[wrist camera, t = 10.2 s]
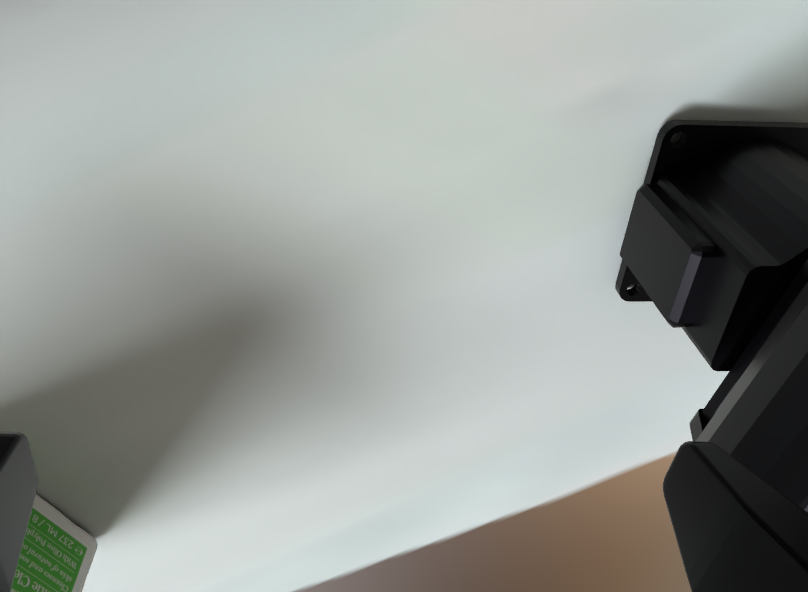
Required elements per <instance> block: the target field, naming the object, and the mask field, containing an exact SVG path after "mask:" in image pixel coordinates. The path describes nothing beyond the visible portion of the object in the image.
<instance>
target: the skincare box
mask: <svg viewBox="0 0 808 592" xmlns="http://www.w3.org/2000/svg"><path fill="white" fill-rule="evenodd" d="M96 549H97V542H96V540H95V538H93V537H92V536H91V535H90V534H88V533H87V532H86V531H84V530H83V529H81V528H80V527H78V526H76V525H75V524H74V523H72V522H71V521H70V520H69V519H68V518H66V517H65V516H64V515H63V514H61V513H60V512H59V511H58V510H57V509H55V508H54V507H53V506H51V505H50V504H49V503H47V502H46V501H45V500H43V499H42V498H40V497H39V496H37V495H36V496H35V500H34V504H33V507H32V511H31V515H30V519H29V523H28V526H27V530H26V534H25V538H24V541H23V545H22V549H21V553H20V557H19V560H18V564H17V568H16V572H15V576H14V579H13V583H12V587H11V591H10V592H82V590H83V587H84V583H85V580H86V577H87V574H88V572H89V569H90V566H91V563H92V561H93V558H94V555H95V552H96Z"/></svg>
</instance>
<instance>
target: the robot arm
mask: <svg viewBox="0 0 808 592" xmlns="http://www.w3.org/2000/svg"><path fill="white" fill-rule="evenodd" d="M679 132H681V133H680V137H679V139H678V140H677V141H676V142H674V143H670V139H671V138H672V136H673V135H674V134H676V133H679ZM620 256H621V257H622V263H621V266H620V270H619V274H618V277H617V281H616V287H615V288H616V290H617V292H618V294H619V295H620V297H621V298H622V299H623V300H625V301H653V302H654V304H655V305H656V307H657V308H658V310H659V311H660V312H661V314H662V315H663V317H664V318H665V319H666V321H667V322H668V323H669V324H670V325H671V326H672V327H673V328H676V327H682V328H683V330H684V331H685V332H686V334H687V335H688V337H689V338H690V339H691V341H692V342H693V343H694V345H695V346H696V347H697V349H698V350H699V352H700V353H701V354H702V356H703V357H704V358H705V360H706V361H707V362H708V364H709V365H710V367H711V368H712V369H713V370H715V371H730V372H729V373H728V375H727V376H726V378H725V379H724V380H723V382H722V383H721V385H720V386H719V388H718V389H717V391H716V392H715V393H714V395H713V396H712V398H711V399H710V401H709V402H708V404H707V405H706V407H705V408H704V409H699V410H698V412H697V413H696V414H695V416H694V417H693V419H692V420H691V422H690V429H691V434H692V439H693V441H688V442H685V443H683V444H682V445H681V446H680V448H679V449H678V451H677V453H676V455H675V457H674V459H673V461H672V463H671V465H670V467H669V470H668V472H667V474H666V476H665V478H664V483H663V492H664V497H665V501H666V504H667V508H668V511H669V515H670V518H671V522H672V525H673V528H674V532H675V535H676V539H677V543H678V546H679V549H680V553H681V557H682V560H683V564H684V567H685V571H686V574H687V577H688V581H689V584H690V587H691V590H692V592H808V123H778V122H739V121H700V120H674V121H670V122H668V123H666V124H665V125H664V126H663V127H662V128H661V129H660V131H659V133H658V135H657V138H656V142H655V145H654V149H653V152H652V156H651V159H650V163H649V167H648V170H647V174H646V177H645V181H644V184H643V185H642V186H641V187H640V188H639V189H638V191H637V193H636V197H635V200H634V204H633V208H632V211H631V215H630V219H629V222H628V226H627V229H626V233H625V237H624V240H623V244H622V247H621V251H620ZM631 284H635V286H634V287H633V288H631V289H628V290H627V288H628V286H630V285H631ZM36 491H37V474H36V470H35V466H34V462H33V458H32V454H31V450H30V446H29V441H28V439H27V437H26V436H25V435H24V434H23V433H20V432H0V592H10V591H11V587H12V583H13V579H14V576H15V572H16V568H17V564H18V560H19V557H20V553H21V549H22V545H23V541H24V538H25V534H26V530H27V526H28V523H29V519H30V515H31V511H32V507H33V504H34V500H35V496H36Z"/></svg>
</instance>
